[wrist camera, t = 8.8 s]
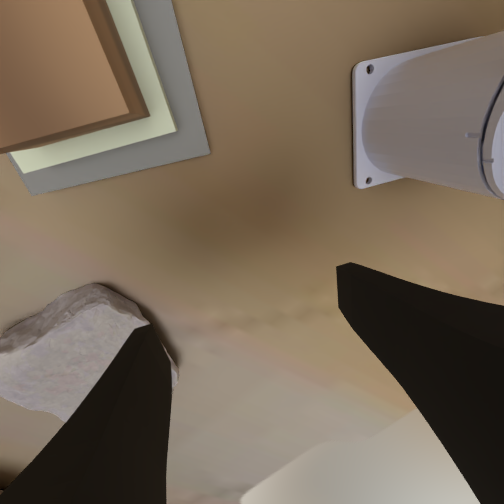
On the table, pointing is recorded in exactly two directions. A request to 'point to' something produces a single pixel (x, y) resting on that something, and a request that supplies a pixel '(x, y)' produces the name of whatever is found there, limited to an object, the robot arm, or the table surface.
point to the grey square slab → (151, 150)
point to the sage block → (124, 133)
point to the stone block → (67, 349)
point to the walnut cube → (62, 73)
